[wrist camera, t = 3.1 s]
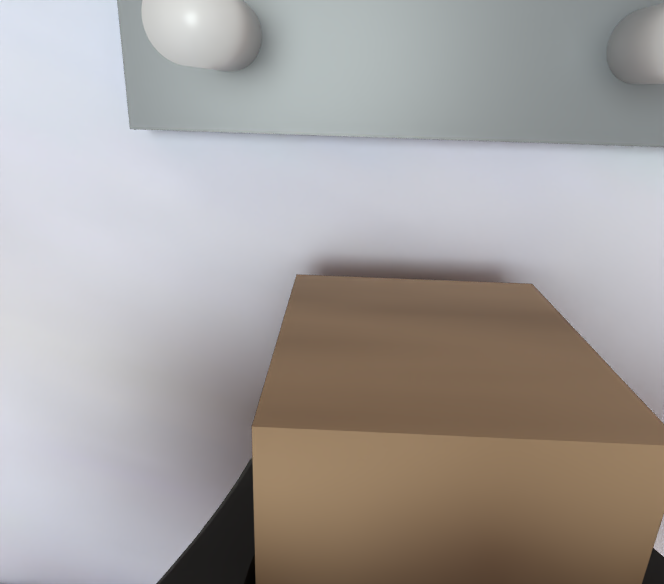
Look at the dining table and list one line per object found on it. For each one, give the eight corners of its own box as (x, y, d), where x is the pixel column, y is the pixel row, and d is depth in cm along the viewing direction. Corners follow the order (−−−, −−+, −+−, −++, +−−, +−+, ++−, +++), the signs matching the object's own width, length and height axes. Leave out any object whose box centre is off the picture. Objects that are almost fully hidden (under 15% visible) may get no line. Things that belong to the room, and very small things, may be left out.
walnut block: (478, 593, 13) (549, 874, 8) (293, 584, 13) (262, 857, 8) (531, 283, 10) (684, 446, 6) (296, 274, 10) (251, 426, 6)
